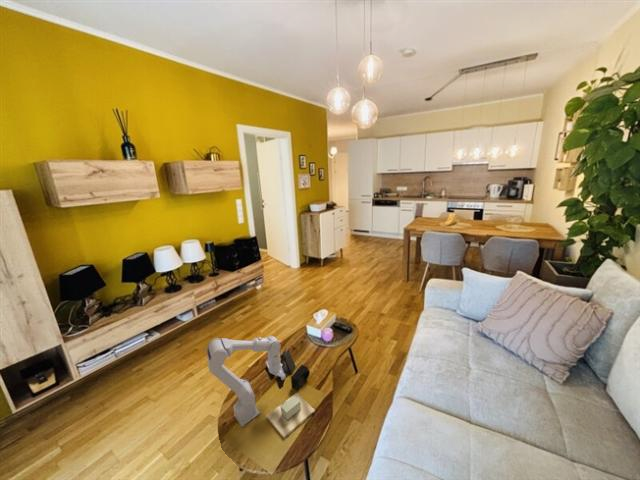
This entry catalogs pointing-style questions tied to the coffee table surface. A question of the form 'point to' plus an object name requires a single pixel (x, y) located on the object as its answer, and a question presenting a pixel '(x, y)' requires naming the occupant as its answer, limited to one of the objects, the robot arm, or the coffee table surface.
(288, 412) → the block
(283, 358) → the phone stand
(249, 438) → the coffee table surface
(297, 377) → the digital camera
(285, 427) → the birch board
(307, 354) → the coffee table surface
